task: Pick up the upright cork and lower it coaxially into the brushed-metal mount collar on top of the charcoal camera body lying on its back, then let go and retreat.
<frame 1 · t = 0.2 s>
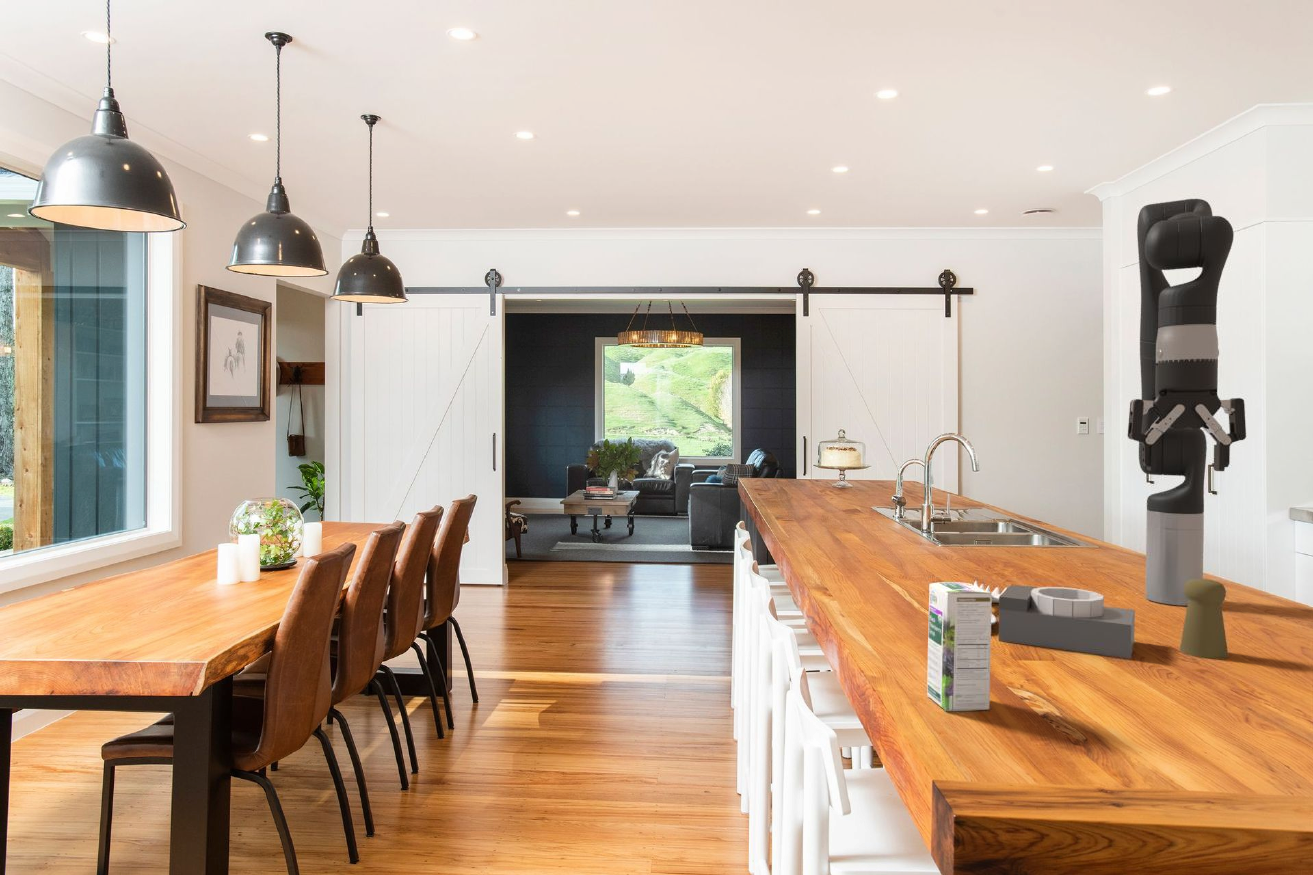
hand: (1184, 470, 117), 27 cm above the worktop, tool pointing down, fingers open, 8 cm apart
syrup box: (958, 704, 100), on the worktop
camera body: (1066, 641, 128), on the worktop
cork: (1203, 654, 121), on the worktop
spoon: (981, 615, 146), on the worktop
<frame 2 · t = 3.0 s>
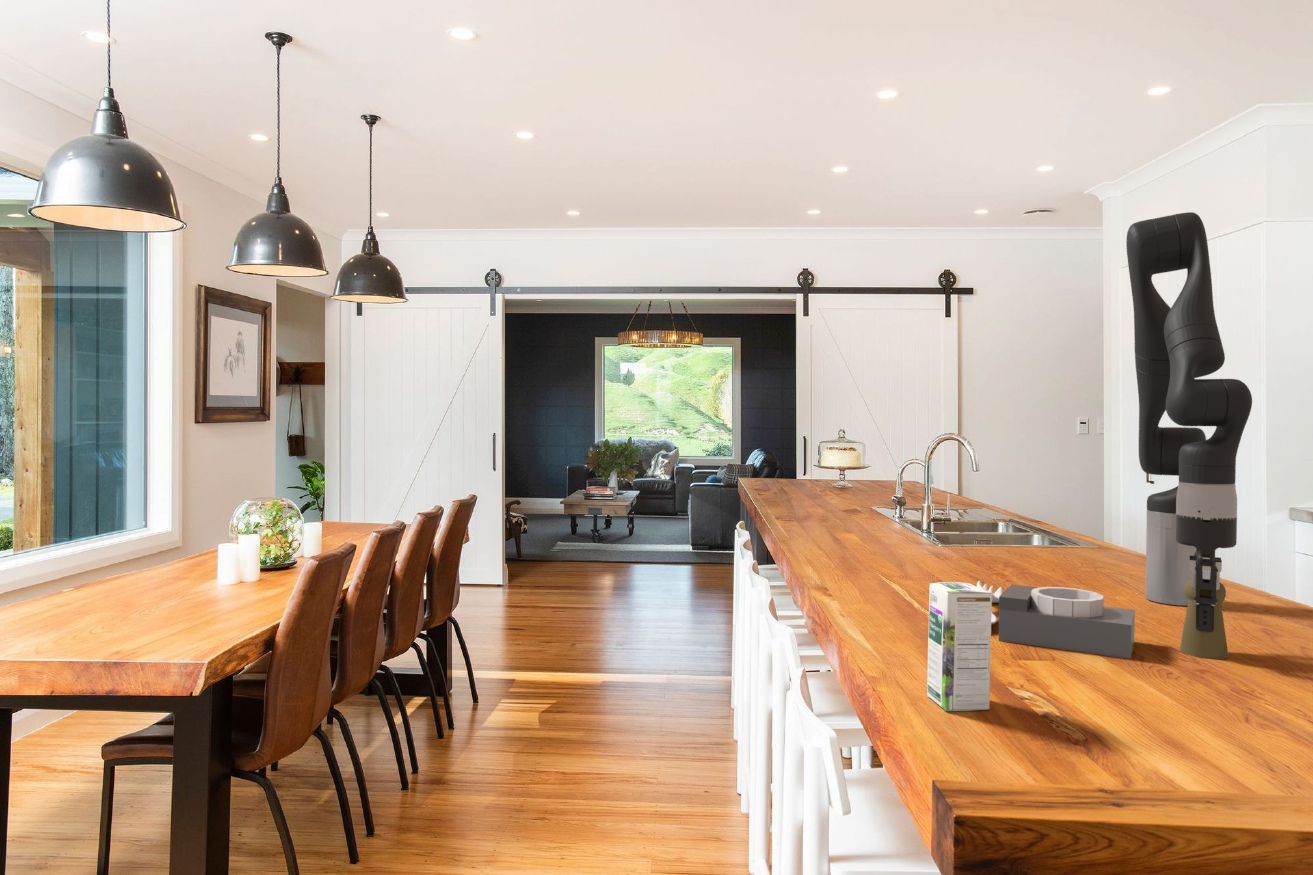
hand: (1204, 626, 121), 4 cm above the worktop, tool pointing down, fingers closed on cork, 4 cm apart
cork: (1203, 654, 121), on the worktop, touching gripper
everything else where it was.
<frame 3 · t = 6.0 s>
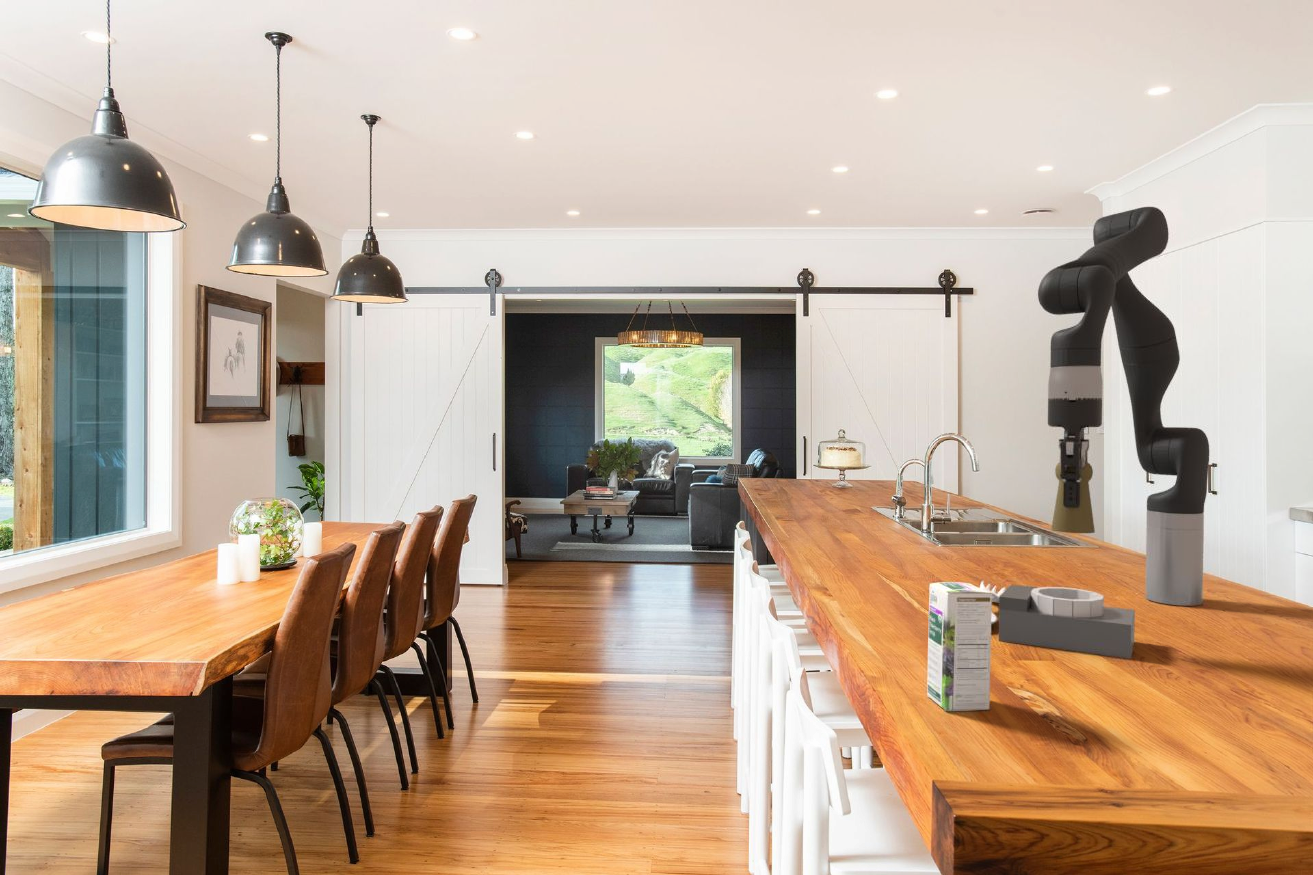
hand: (1073, 505, 127), 21 cm above the worktop, tool pointing down, fingers closed on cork, 4 cm apart
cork: (1072, 532, 127), point 17 cm above the worktop, touching gripper
everything else where it was.
when the fingers open (10 cm above the worktop, at t = 9.3 s): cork drops 1 cm, resting on camera body.
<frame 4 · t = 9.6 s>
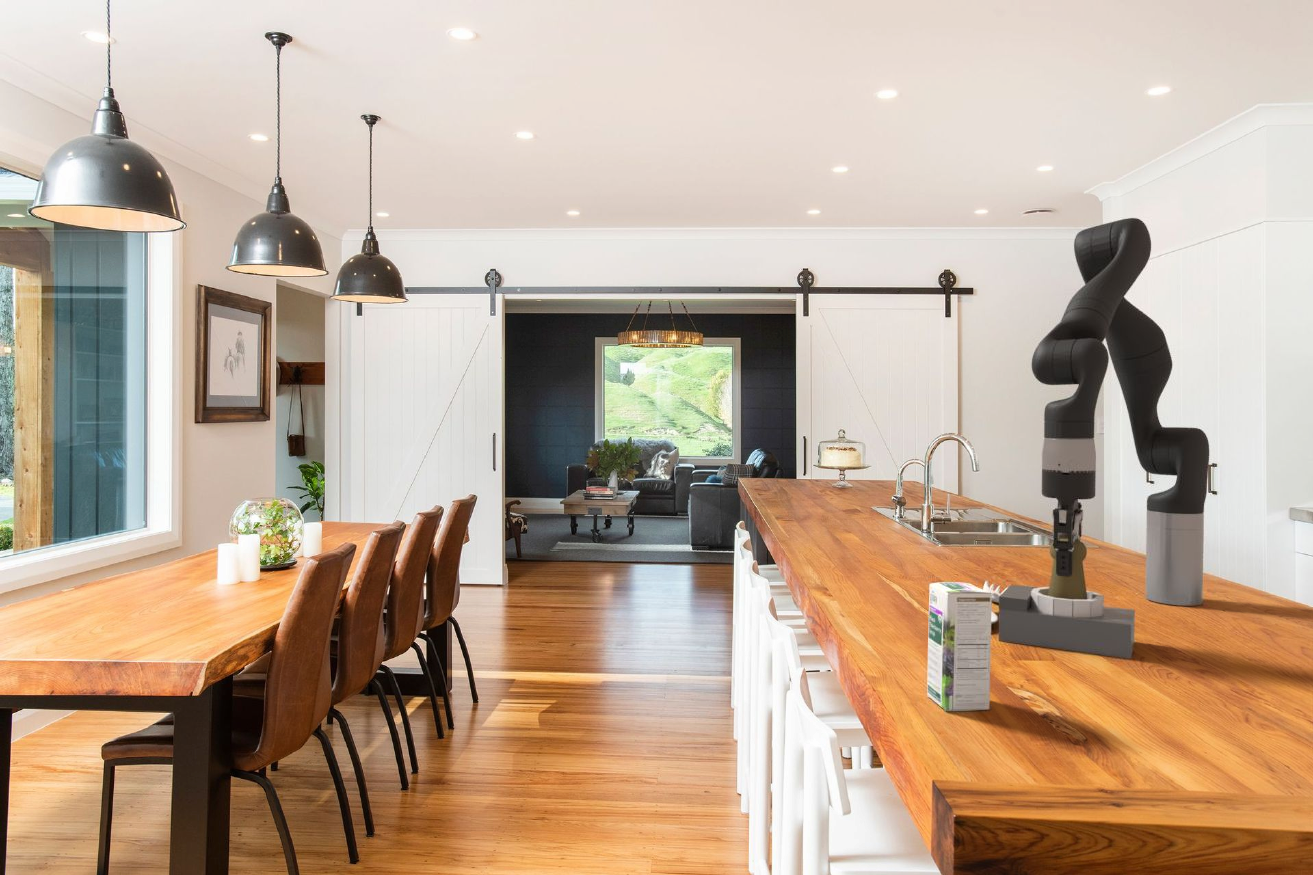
hand: (1067, 571, 127), 11 cm above the worktop, tool pointing down, fingers open, 7 cm apart
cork: (1067, 610, 128), point 5 cm above the worktop, touching camera body
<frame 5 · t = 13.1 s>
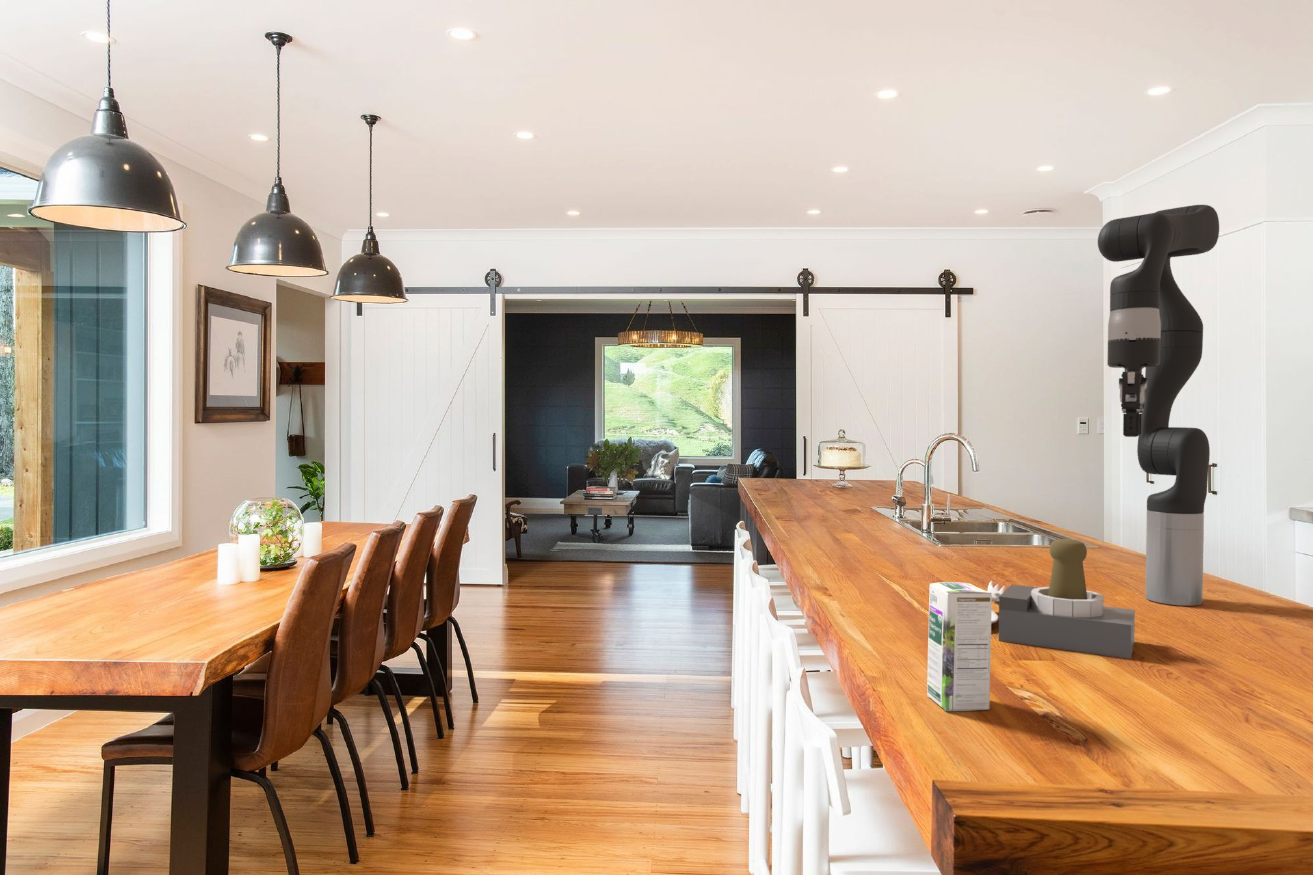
hand: (1132, 436, 134), 32 cm above the worktop, tool pointing down, fingers open, 8 cm apart
at the end: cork 0.2 cm off-centre on the camera body, point 4.8 cm above the camera body's base; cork tilted 0°; the gripper is holding nothing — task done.
